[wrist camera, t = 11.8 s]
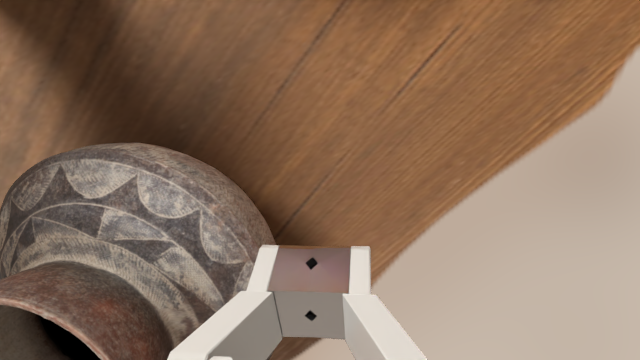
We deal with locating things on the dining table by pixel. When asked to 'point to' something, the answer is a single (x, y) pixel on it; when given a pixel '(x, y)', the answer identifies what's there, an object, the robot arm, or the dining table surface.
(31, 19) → the dining table surface
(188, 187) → the ceramic pot
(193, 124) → the dining table surface
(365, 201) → the dining table surface
